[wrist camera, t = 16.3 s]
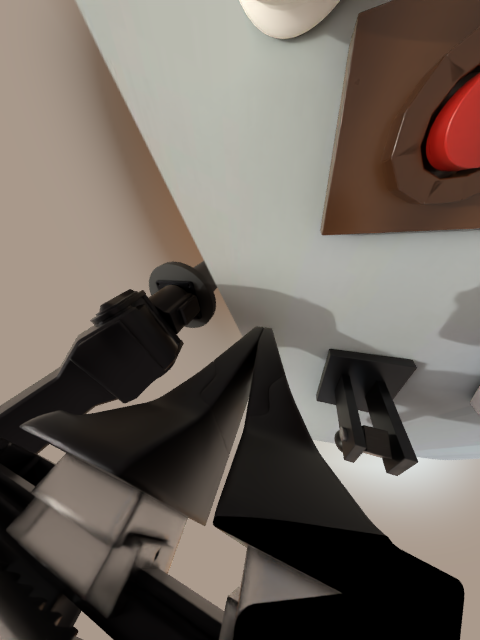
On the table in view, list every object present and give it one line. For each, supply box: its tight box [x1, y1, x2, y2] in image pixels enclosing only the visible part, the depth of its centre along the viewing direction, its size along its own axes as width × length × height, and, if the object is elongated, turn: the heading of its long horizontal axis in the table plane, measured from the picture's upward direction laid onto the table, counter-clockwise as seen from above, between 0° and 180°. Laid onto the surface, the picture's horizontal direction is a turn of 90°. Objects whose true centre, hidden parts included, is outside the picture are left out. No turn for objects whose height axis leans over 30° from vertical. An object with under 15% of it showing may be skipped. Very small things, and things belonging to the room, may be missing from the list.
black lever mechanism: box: [316, 349, 418, 476], centre depth 21 cm, size 11×9×10 cm
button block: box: [320, 0, 480, 235], centre depth 10 cm, size 12×10×4 cm
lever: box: [335, 425, 393, 459], centre depth 22 cm, size 12×3×3 cm, turn 6°
